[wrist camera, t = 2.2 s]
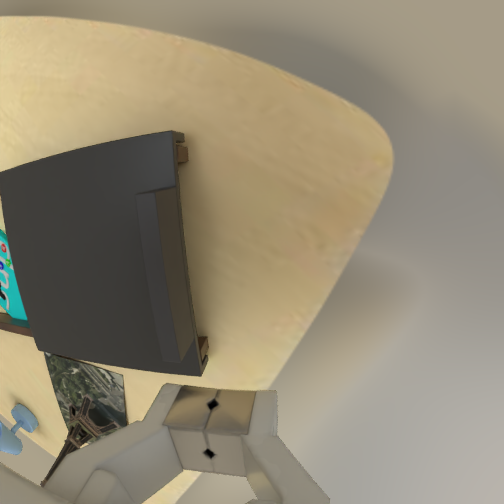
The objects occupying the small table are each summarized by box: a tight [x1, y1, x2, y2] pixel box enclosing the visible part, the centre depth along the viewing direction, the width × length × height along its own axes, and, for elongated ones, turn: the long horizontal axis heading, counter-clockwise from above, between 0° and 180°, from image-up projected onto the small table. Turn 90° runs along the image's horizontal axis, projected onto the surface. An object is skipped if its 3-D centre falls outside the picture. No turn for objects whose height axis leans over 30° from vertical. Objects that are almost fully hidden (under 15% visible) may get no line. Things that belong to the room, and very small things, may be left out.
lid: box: [0, 130, 208, 377], centre depth 20 cm, size 17×17×5 cm
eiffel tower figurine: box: [40, 352, 127, 488], centre depth 22 cm, size 15×10×13 cm
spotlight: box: [0, 404, 38, 455], centre depth 28 cm, size 5×10×7 cm
